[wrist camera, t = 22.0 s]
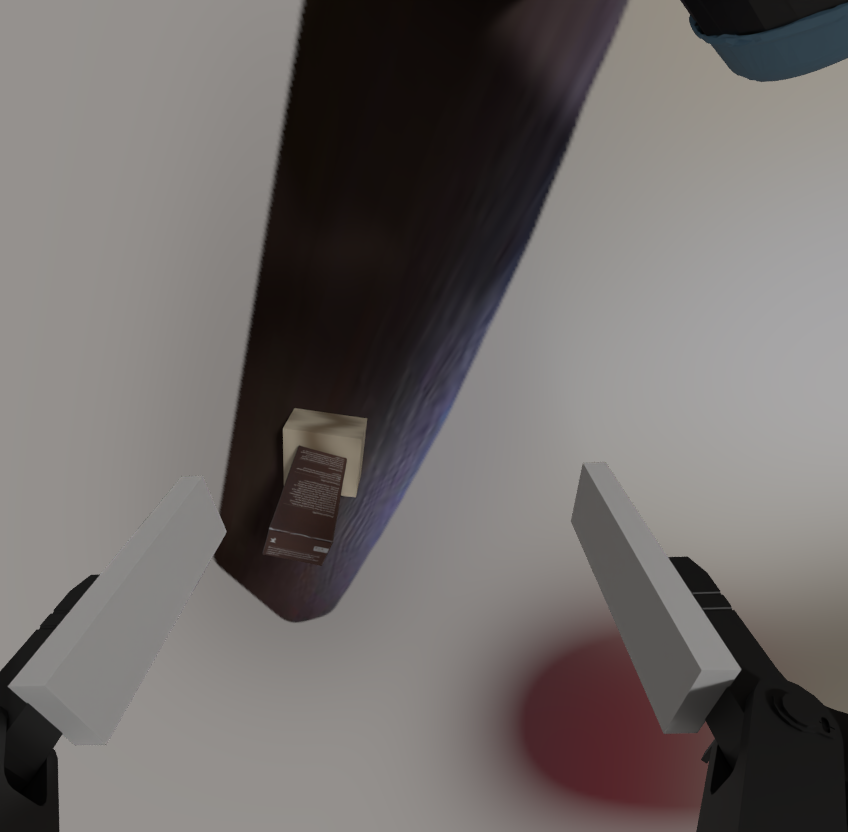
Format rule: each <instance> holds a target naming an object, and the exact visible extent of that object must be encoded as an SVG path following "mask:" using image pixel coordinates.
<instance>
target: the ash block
mask: <svg viewBox="0 0 848 832" xmlns="http://www.w3.org/2000/svg"><path fill="white" fill-rule="evenodd" d="M366 425H367V418H360V417H353V416H346V415H339V414H332V413H325V412H318V411H311V410H304V409H297V408H294V410H293V412H292V413H291V415H290V417H289V419H288V420H287V422H286V424H285V426H284V427H283V466H284V484H285V482H286V479H287V476H288V473H289V470H290V468H291V465H292V462H293V459H294V457H295V454H296V451H297V448H298V446H299V445H300V446H303V447H307V448H310V449H314V450H318V451H321V452H325V453H329V454H332V455H336V456H340V457H344V458H347V464H346V470H345V475H344V480H343V486H342V492H341V496H349V497H356V494H357V490H358V485H359V481H360V476H361V469H362V460H363V452H364V443H365V434H366Z"/></svg>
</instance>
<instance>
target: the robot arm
mask: <svg viewBox="0 0 848 832" xmlns="http://www.w3.org/2000/svg"><path fill="white" fill-rule="evenodd" d="M681 2H682V3H683V5H684V6H685V8H686V9H687V10H688V12H689V14H690V17H689V22H690V25H691V27H692V30H693V31H694V33H695V34H696V35H697V36H698V37H699V38H702V39H703V40H704V41H705V42H707V43H710V44H711V45H712V46H713V48H714V49H715V50H716V52H717V53H718V54H719V55H720V57H721V58H722V59H723V61H724V62H725V63H726V64H727V66H728V67H729V68H730V69H731V70H732V71H733V72H734V73H735V74H737V75H740V76H743V77H745V78H748V79H749V80H756V81H760V82H765V81H778V80H784V79H789V78H793V77H797V76H801V75H804V74H808V73H811V72H814V71H817V70H820V69H822V68H825V67H827V66H830V65H832V64H835V63H837V62H840V61H842V60H844V59H846V58H848V0H681ZM571 522H572V525H573V527H574V529H575V531H576V534H577V536H578V538H579V541H580V543H581V545H582V548H583V550H584V552H585V554H586V557H587V559H588V561H589V564H590V566H591V568H592V571H593V573H594V575H595V577H596V580H597V582H598V584H599V586H600V589H601V591H602V593H603V595H604V598H605V600H606V602H607V604H608V607H609V609H610V612H611V614H612V616H613V619H614V621H615V623H616V625H617V627H618V630H619V632H620V635H621V637H622V639H623V641H624V644H625V646H626V648H627V650H628V653H629V655H630V657H631V660H632V662H633V664H634V667H635V669H636V671H637V673H638V676H639V678H640V680H641V683H642V685H643V687H644V689H645V692H646V694H647V696H648V699H649V701H650V703H651V705H652V707H653V710H654V712H655V715H656V717H657V719H658V721H659V724H660V726H661V728H662V731H663V732H664V734H665V733H697V732H698V731H699V730H700V728H701V727H702V725H703V724H704V723H705V721H706V722H707V724H708V726H709V728H710V730H711V732H712V734H713V735H714V737H715V740H714V741H713V742H712V744H711V745H710V746H709V747H708V749H707V750H706V751H705V753H704V755H703V757H702V759H701V760H702V761H704V762H705V763H708V761H709V765H708V771H707V776H706V782H705V787H704V793H703V799H702V804H701V809H700V815H699V820H698V826H697V831H696V832H848V714H847V713H843V712H840V711H837V710H834V709H831V708H829V707H826V706H824V705H823V704H822V703H821V702H820V701H819V700H818V699H817V698H816V697H815V696H814V695H812V694H811V693H809V692H808V691H806V690H805V689H803V688H802V687H800V686H799V685H797V684H795V683H792V682H790V681H787V680H786V679H785V678H784V676H783V675H782V674H781V673H780V672H779V671H778V669H777V668H776V667H775V665H774V664H773V663H772V661H771V660H770V659H769V657H768V656H767V654H766V653H765V652H764V650H763V649H762V648H761V646H760V645H759V643H758V642H757V641H756V639H755V638H754V637H753V635H752V634H751V632H750V631H749V630H748V628H747V627H746V626H745V624H744V623H743V621H742V620H741V619H740V618H739V616H738V615H737V613H736V612H735V611H734V610H732V608H731V605H730V604H729V602H728V601H727V599H726V598H725V597H724V595H721V593H720V590H719V589H718V588H717V586H716V584H715V583H714V582H713V580H712V579H711V578H710V576H709V575H708V573H707V572H706V571H704V570H703V569H702V568H701V567H700V566H698V565H697V564H696V563H695V562H693V561H692V560H691V559H690V558H689V557H667V555H666V553H665V552H664V550H663V549H662V548H661V546H660V544H659V543H658V541H657V540H656V538H655V537H654V535H653V534H652V532H651V531H650V529H649V528H648V526H647V524H646V523H645V521H644V520H643V518H642V517H641V515H640V514H639V513H638V511H637V509H636V508H635V506H634V505H633V503H632V502H631V500H630V499H629V497H628V496H627V494H626V493H625V491H624V489H623V488H622V487H621V485H620V483H619V482H618V480H617V479H616V477H615V476H614V474H613V473H612V471H611V470H610V468H609V466H608V465H607V463H606V462H592V463H583V465H582V470H581V475H580V480H579V485H578V490H577V494H576V499H575V505H574V509H573V514H572V519H571ZM225 534H226V529H225V527H224V524H223V522H222V520H221V517H220V515H219V512H218V510H217V508H216V505H215V503H214V501H213V498H212V496H211V493H210V491H209V489H208V486H207V484H206V482H205V480H204V477H203V476H181V477H180V479H179V480H178V481H177V482H176V484H175V485H174V486H173V487H172V488H171V490H170V491H169V492H168V493H167V494H166V496H165V497H164V498H163V499H162V500H161V502H160V503H159V504H158V505H157V507H156V508H155V509H154V510H153V512H152V513H151V514H150V515H149V516H148V517H147V519H146V520H145V521H144V522H143V523H142V525H141V526H140V527H139V528H138V530H137V531H136V532H135V533H134V534H133V536H132V537H131V538H130V539H129V540H128V542H127V543H126V544H125V545H124V547H123V548H122V549H121V550H120V551H119V553H118V554H117V555H116V556H115V557H114V559H113V560H112V561H111V562H110V563H109V565H108V566H107V567H106V568H105V569H104V571H103V572H102V573H101V574H100V575H90V576H89V577H88V578H86V579H85V580H84V581H83V582H81V583H80V584H79V585H77V586H76V587H75V588H73V589H72V590H71V591H70V592H69V593H68V594H67V595H66V596H65V598H64V599H63V600H62V601H61V602H60V603H59V604H58V606H57V607H56V608H55V609H54V612H53V614H50V615H49V616H48V617H47V618H46V619H45V621H44V622H43V623H42V624H41V625H40V629H39V630H36V631H35V632H34V633H33V634H32V636H31V637H30V638H29V639H28V640H27V642H25V644H24V645H23V646H22V647H21V648H20V649H19V651H18V652H17V653H16V654H15V655H14V656H13V658H12V659H11V660H10V661H9V662H8V663H7V664H6V666H5V667H4V668H3V669H2V670H1V671H0V832H59V799H58V758H57V755H56V752H55V750H54V749H53V748H54V746H55V744H56V743H57V741H58V740H59V738H60V737H61V735H64V736H65V737H66V738H67V739H68V740H69V741H70V742H72V743H73V744H74V745H106V744H107V743H108V741H109V739H110V737H111V736H112V734H113V732H114V730H115V728H116V727H117V725H118V723H119V721H120V720H121V717H122V716H123V714H124V712H125V711H126V709H127V707H128V706H129V704H130V702H131V700H132V698H133V697H134V695H135V693H136V691H137V690H138V688H139V686H140V684H141V683H142V681H143V679H144V677H145V675H146V674H147V672H148V670H149V668H150V667H151V665H152V663H153V661H154V660H155V657H156V656H157V654H158V652H159V650H160V649H161V647H162V645H163V643H164V642H165V640H166V638H167V637H168V635H169V633H170V631H171V629H172V628H173V626H174V624H175V622H176V621H177V619H178V617H179V615H180V614H181V612H182V610H183V608H184V606H185V605H186V603H187V601H188V599H189V597H190V596H191V594H192V592H193V591H194V589H195V587H196V585H197V583H198V582H199V580H200V578H201V576H202V575H203V573H204V571H205V569H206V568H207V566H208V564H209V562H210V560H211V559H212V557H213V555H214V553H215V552H216V550H217V548H218V546H219V545H220V543H221V541H222V539H223V537H224V536H225Z"/></svg>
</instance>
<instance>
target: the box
mask: <svg viewBox="0 0 848 832" xmlns="http://www.w3.org/2000/svg"><path fill="white" fill-rule="evenodd" d="M346 464H347V458H344V457H340V456H336V455H332V454H329V453H325V452H321V451H318V450H314V449H310V448H307V447H303V446H300V445H299V446H298V448H297V451H296V454H295V457H294V459H293V462H292V465H291V468H290V470H289V473H288V476H287V479H286V482H285V484H284V487H283V490H282V493H281V496H280V499H279V502H278V504H277V507H276V510H275V513H274V515H273V518H272V521H271V523H270V526H269V530H268V533H267V537H266V541H265V545H264V549H263V554H264V555H269V556H274V557H280V558H285V559H290V560H295V561H300V562H305V563H310V564H315V565H320V566H322V564H323V562H324V560H325V558H326V556H327V554H328V551H329V549H330V547H331V545H332V543H333V540H334V533H335V527H336V521H337V515H338V509H339V503H340V497H341V492H342V486H343V480H344V475H345V470H346Z"/></svg>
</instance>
